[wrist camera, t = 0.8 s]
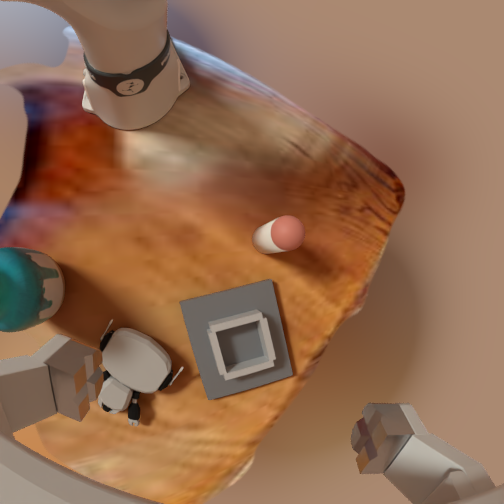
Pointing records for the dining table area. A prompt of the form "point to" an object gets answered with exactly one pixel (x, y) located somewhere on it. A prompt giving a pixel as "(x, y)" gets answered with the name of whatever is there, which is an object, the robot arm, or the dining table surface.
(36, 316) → the vase
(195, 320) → the jig
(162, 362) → the robot toy
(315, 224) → the dining table surface
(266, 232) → the pink-topped post
